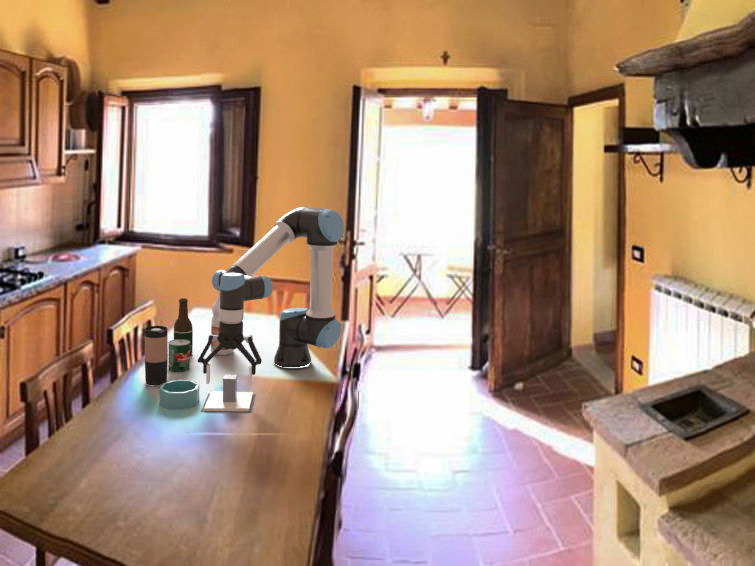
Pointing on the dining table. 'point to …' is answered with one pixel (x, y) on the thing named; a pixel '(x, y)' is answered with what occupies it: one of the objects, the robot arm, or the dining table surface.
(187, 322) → the beer bottle
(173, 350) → the canned tomato
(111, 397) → the dining table surface
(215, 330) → the fruit juice
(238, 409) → the lid
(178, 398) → the bowl
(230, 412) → the mat
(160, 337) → the travel mug
